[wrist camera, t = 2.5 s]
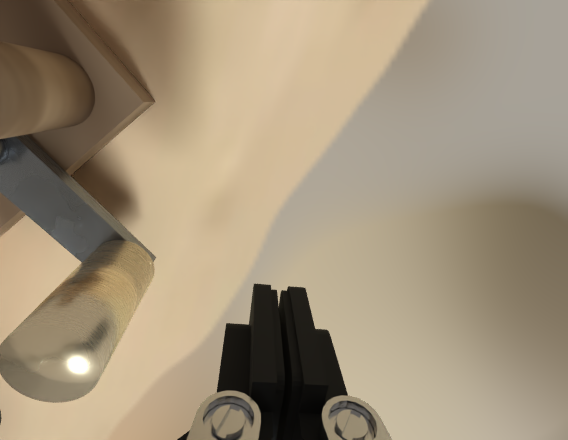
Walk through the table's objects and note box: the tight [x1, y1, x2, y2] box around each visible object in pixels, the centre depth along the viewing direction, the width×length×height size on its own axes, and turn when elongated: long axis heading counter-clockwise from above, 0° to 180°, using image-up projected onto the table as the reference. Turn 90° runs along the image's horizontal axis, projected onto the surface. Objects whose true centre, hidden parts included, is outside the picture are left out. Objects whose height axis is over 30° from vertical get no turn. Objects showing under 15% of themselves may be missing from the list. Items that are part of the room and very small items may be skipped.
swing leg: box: [0, 134, 156, 402], centre depth 13 cm, size 10×3×7 cm, turn 37°
